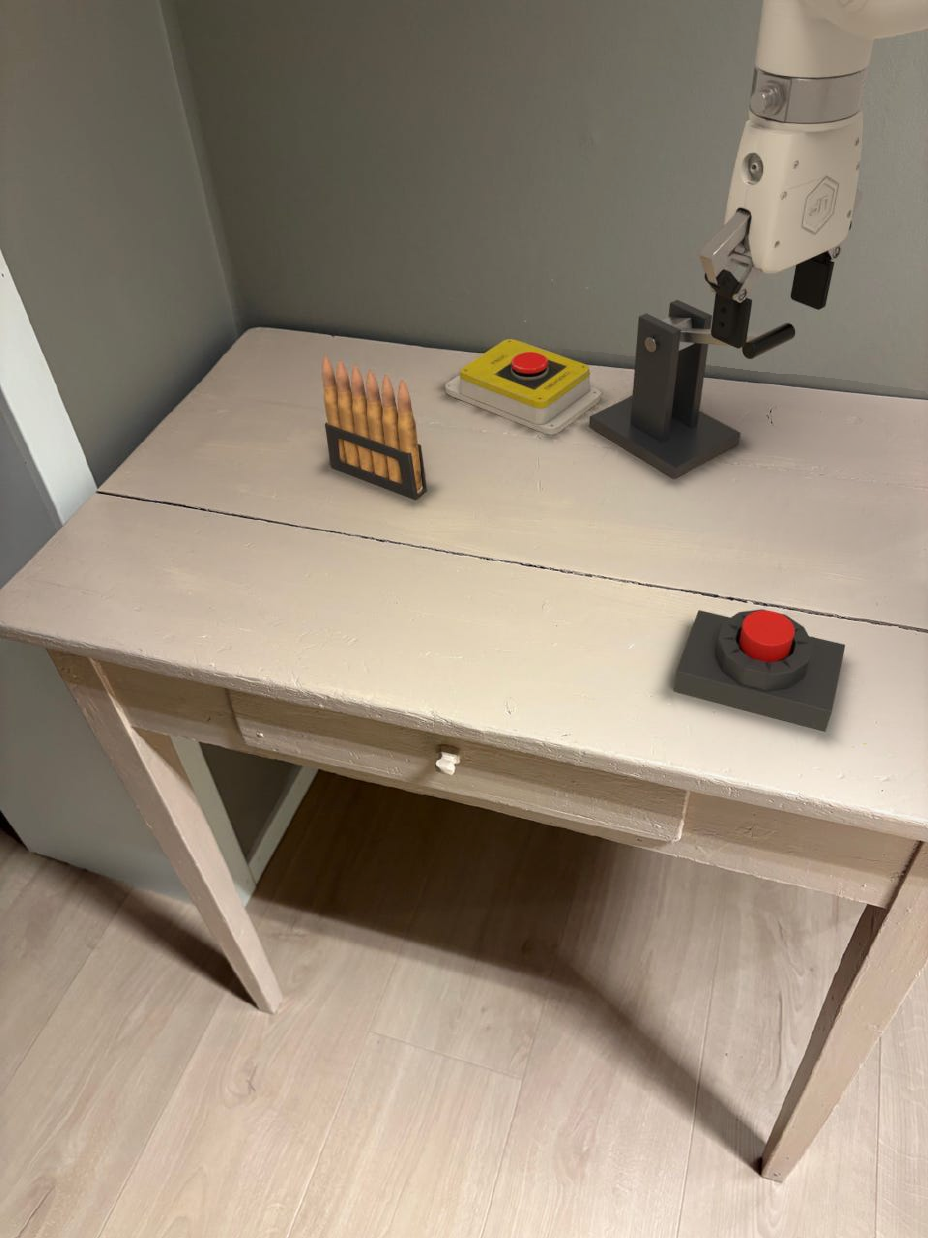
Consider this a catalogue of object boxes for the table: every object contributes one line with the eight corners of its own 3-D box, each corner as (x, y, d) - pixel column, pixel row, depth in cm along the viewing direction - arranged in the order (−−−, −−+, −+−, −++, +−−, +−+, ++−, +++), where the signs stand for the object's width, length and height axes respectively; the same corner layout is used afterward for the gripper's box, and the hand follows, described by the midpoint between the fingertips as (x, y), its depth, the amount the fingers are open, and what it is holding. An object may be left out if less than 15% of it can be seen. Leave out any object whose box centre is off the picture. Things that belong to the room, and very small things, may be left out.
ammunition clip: (330, 467, 95) (310, 357, 87) (342, 457, 96) (323, 348, 88) (416, 500, 91) (404, 387, 82) (427, 490, 92) (417, 378, 83)
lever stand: (739, 443, 94) (760, 322, 86) (674, 479, 91) (689, 356, 82) (652, 395, 102) (663, 279, 93) (588, 426, 98) (593, 308, 89)
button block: (839, 664, 73) (851, 627, 70) (825, 731, 68) (837, 694, 66) (695, 629, 76) (701, 592, 74) (673, 691, 72) (678, 654, 69)
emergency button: (553, 398, 94) (438, 355, 101) (553, 436, 97) (441, 391, 104) (607, 359, 99) (493, 320, 106) (604, 396, 102) (494, 356, 109)
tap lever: (796, 345, 81) (794, 317, 80) (756, 365, 79) (754, 336, 78) (683, 337, 91) (679, 311, 90) (645, 354, 89) (641, 329, 88)
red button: (794, 634, 70) (798, 617, 69) (785, 667, 68) (790, 650, 67) (744, 622, 72) (748, 605, 70) (734, 655, 69) (738, 638, 68)
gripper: (765, 134, 62) (731, 374, 73) (928, 76, 69) (873, 304, 80) (679, 111, 66) (660, 341, 78) (840, 58, 73) (800, 277, 85)
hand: (768, 322), depth 79 cm, fingers open, 9 cm apart
